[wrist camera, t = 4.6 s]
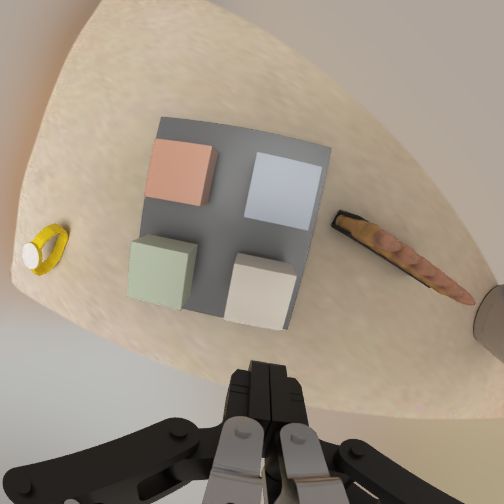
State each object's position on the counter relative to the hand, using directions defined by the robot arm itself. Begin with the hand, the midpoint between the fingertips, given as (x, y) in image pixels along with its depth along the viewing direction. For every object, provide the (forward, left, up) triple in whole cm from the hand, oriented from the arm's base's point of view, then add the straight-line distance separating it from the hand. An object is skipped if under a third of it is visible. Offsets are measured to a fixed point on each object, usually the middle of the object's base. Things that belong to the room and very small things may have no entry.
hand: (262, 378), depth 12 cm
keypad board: (+4, -4, -17) cm, 18 cm away
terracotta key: (+8, -8, -14) cm, 18 cm away
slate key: (0, -8, -13) cm, 15 cm away
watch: (+23, +2, -17) cm, 29 cm away
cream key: (0, 0, -13) cm, 13 cm away
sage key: (+8, 0, -13) cm, 15 cm away
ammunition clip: (-11, -5, -17) cm, 21 cm away
